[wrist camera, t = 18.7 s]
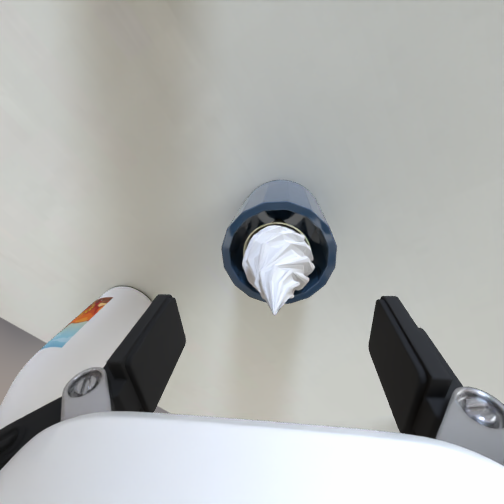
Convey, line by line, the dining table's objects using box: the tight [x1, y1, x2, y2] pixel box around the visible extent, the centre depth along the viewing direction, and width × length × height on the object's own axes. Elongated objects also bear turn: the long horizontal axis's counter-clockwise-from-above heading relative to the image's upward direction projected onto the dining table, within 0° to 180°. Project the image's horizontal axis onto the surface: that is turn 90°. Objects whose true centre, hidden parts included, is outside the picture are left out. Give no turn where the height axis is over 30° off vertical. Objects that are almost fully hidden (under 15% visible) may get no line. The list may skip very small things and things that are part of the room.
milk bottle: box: [0, 286, 152, 429], centre depth 26 cm, size 8×8×20 cm
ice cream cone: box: [242, 219, 315, 315], centre depth 19 cm, size 5×5×15 cm
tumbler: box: [222, 180, 337, 304], centre depth 22 cm, size 8×8×9 cm
